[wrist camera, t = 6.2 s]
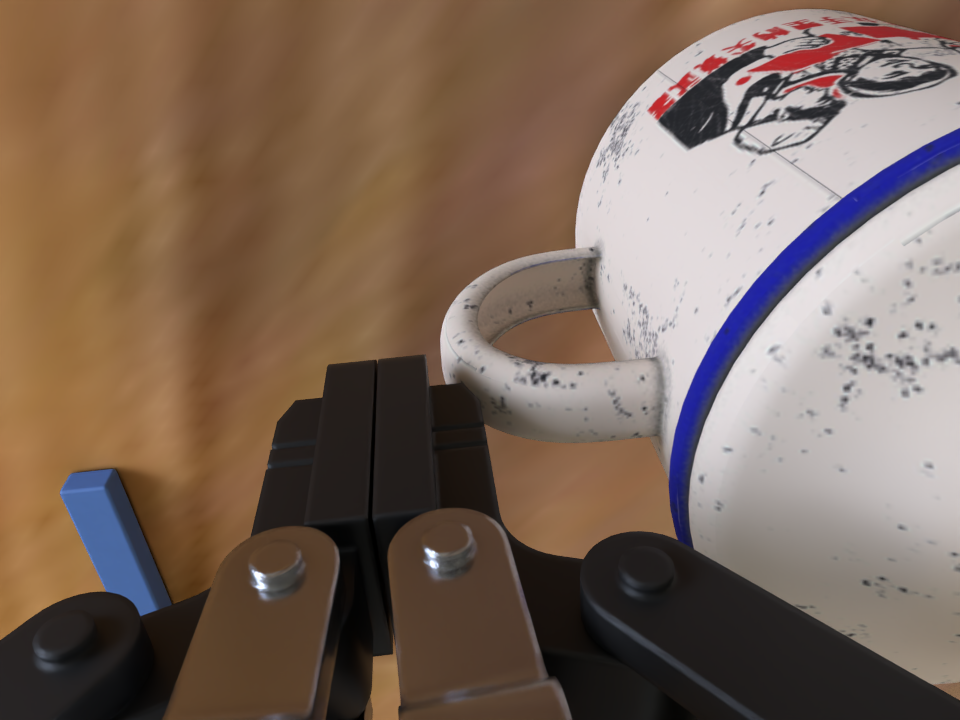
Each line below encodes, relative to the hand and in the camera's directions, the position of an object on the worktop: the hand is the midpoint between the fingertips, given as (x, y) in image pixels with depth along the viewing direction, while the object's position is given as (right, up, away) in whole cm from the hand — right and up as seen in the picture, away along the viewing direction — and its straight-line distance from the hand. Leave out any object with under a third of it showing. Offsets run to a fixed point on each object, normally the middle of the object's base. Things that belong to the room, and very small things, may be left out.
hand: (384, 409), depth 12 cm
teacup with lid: (+6, +4, +6) cm, 9 cm away
